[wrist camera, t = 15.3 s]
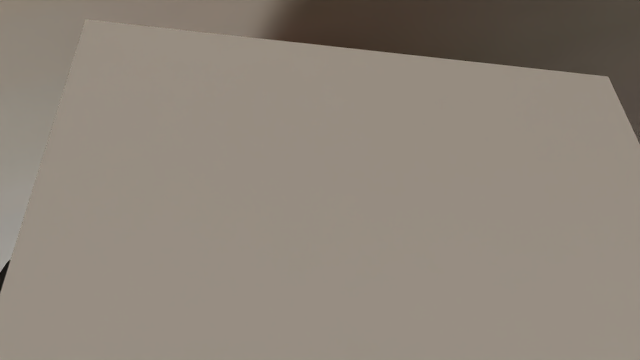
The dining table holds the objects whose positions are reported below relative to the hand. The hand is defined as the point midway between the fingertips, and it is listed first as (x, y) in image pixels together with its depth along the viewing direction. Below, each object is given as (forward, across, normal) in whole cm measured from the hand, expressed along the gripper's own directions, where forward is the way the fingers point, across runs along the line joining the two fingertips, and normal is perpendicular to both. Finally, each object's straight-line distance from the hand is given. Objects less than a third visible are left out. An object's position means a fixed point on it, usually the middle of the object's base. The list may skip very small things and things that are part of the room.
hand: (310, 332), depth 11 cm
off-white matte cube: (+2, 0, -2) cm, 3 cm away
